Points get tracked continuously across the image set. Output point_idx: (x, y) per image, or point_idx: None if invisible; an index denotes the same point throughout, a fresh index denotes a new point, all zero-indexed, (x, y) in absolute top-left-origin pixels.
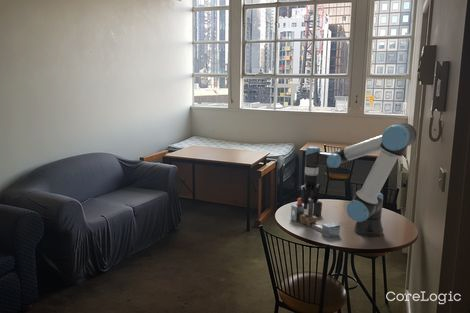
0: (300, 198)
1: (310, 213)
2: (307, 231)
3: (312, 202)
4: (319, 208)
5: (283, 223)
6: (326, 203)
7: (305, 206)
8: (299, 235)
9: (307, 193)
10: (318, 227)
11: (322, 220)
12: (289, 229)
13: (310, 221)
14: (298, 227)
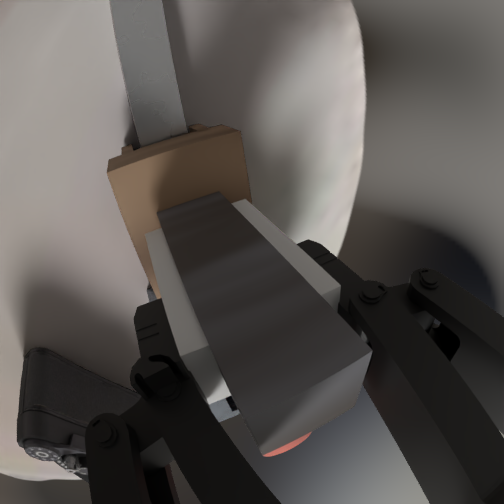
0: (278, 448)
1: (199, 219)
2: (267, 40)
3: (239, 350)
4: (34, 399)
5: (334, 232)
6: (10, 459)
7: (341, 261)
8: (354, 10)
9: (498, 449)
10: (165, 23)
11: (21, 278)
12: (358, 123)
13: (205, 131)
14: (288, 139)
